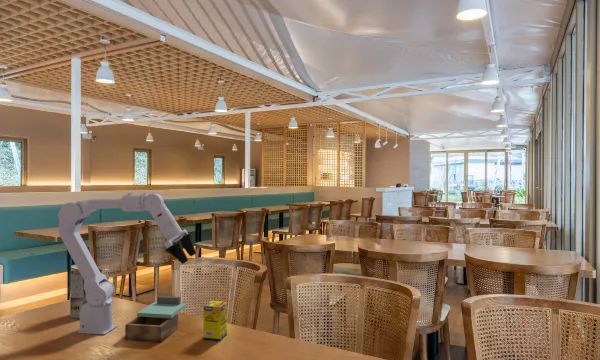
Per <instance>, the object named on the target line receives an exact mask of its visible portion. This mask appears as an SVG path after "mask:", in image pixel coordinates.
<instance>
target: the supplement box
mask: <svg viewBox="0 0 600 360" xmlns="http://www.w3.org/2000/svg"><path fill="white" fill-rule="evenodd" d="M202 324H203V329H202V330H203V331H202V332H203V334H202V335H203V337H202V338H203V341H213V342H214V341H215V342H221V341H223V339H224V338H225V337H226V336H227V335H228V301H222V300H221V301H220V300H210V301H209V302H208V303H206V304H204V305H203V323H202Z"/></svg>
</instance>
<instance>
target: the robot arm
mask: <svg viewBox="0 0 600 360" xmlns="http://www.w3.org/2000/svg"><path fill="white" fill-rule="evenodd" d="M107 209H121V210H123V212H145V211H147V212H149V213H150V215H151V216H152V217H153V220H154V222H155V224H156V225H157V227H158V228H159V230H160V231H161V233H162V235H163V236H164V237H165V239H166V241H165V242H164V243H163V245H164V246H165V247H166V249H165V252H166V253H168V254H170V255H171V256H173V257H174V258H175V259H177V260H178V262H180V263H181V264H182V265H183V264H186V263H187V262H188V261H189V259H188V257H187V255H189V256H190V257H192V256H194V255H196V254H197V251H196V249H195V246H194V242H193V234H192V233H191V232H190V233H188V230H187V229H186V228H185V229H183V230H182V228H181V227H180V224H179V223H178V222H177V220H176V219H175V217H174V216H173V213H172V212H171V211H170V209H168V207H167V205H166V204H165V199H164V197H163V196H162V195H161V194H159V193H155V192H153V193H150V194H148V192H143V193H142V194H141V193H140V194H135V193H134V194H133V192H128V193H127V194H123V196H122V197H121V198H91V199H85V200H77V201H73V202H72V201H71V202H66V203H64V204H63V205H62V206H61V208H60V209H59V211H58V212H57V217H58V234H59V237H60V238H61V241H62V242H63V244H64V246H65V248H66V250H67V252H68V253H69V255H70V258H71V259H72V260H73V262H74V265H75V266H76V268H77V271H79V272H80V274H81V276H82V278H83V279H84V290H85V292H86V300H87V302H88V303H85V304H84V305H83V306H82V308H81V310H80V318H79V330H78V332H77V333H78V334H89V335H90V334H91V335H106V334H108V333H109V332H111V331H112V330H115V328H118V324H113V299H112V296H113V295H114V293H115V285H114V283H113V282H112V281H111V280H109V279H108V277H107V276H106V275H105V274H103V272H102V273H100V271H99V268H98V266H97V264H96V262H95V260H94V259H93V257H92V254H91V253H90V251H89V249H88V246H86V243H85V241H84V240H83V237H82V236H81V234H80V232H79V231H80V229H81V227H82V225H83V223H84V221H86V220H87V218H88V217H89V216H90V214H91V213H94V212H95V211H97V210H107ZM185 252H186V253H187V254H186V253H185Z"/></svg>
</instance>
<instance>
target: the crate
mask: <svg viewBox="0 0 600 360" xmlns="http://www.w3.org/2000/svg"><path fill="white" fill-rule="evenodd" d="M178 314H179V313H178ZM178 314H176V315H175V316H174V317H172V318H157V317H140V316H136V317H135V318H133V319H132V320H130V321H129V322H127V323H126V324H125V327H124V328H125V331H124V332H125V333H124V340H125V341H128V342H142V343H143V342H144V343H158V344H159V343H161V344H162V343H163V342H164V341H165V340H166V339H168V338H169V337H171V335H172V334H173V333H175V332H176V331H177V330H178V329H179V326H178V325H179V315H178Z"/></svg>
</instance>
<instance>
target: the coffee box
mask: <svg viewBox="0 0 600 360" xmlns="http://www.w3.org/2000/svg"><path fill="white" fill-rule="evenodd" d="M98 269H99V268H98ZM99 271H100V273H102V274H103V272H102V271H103V270H102V269H99ZM69 296H70V298H69V299H70V301H69V302H70V303H69V304H70V306H69V309H70V310H69V311H70V312H69V318H75V319H80V310H81V308H82V306H83V305H84V304H85V303H88V302H87V300H86V292H85V290H84V279H83V278H82V276H81V274H80V272H79V270H77V271H75V272H71V273H70V294H69Z"/></svg>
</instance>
